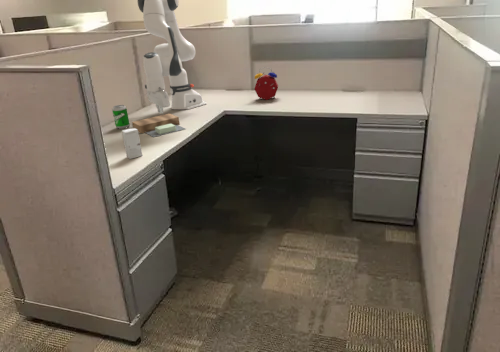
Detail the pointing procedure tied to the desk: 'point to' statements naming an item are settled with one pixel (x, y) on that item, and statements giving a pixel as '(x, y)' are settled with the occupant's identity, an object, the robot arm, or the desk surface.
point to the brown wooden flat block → (155, 122)
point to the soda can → (120, 116)
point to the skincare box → (132, 143)
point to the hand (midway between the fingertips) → (160, 112)
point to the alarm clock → (266, 85)
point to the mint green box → (165, 128)
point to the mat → (155, 134)
